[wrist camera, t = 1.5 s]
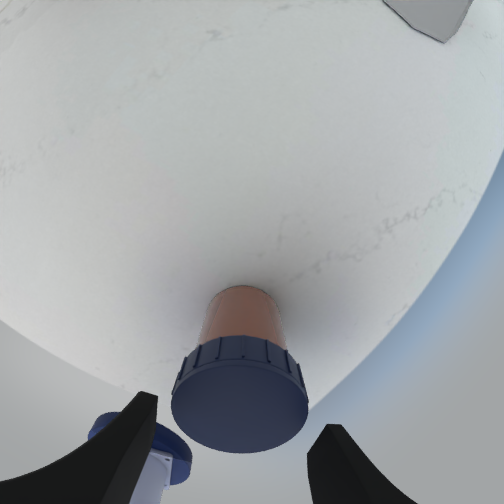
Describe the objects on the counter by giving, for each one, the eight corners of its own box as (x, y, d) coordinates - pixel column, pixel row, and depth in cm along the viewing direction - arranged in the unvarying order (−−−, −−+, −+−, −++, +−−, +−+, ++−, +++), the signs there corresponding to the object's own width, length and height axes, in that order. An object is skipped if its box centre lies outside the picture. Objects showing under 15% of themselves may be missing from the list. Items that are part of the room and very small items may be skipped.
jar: (268, 356, 18) (278, 447, 11) (200, 341, 18) (176, 430, 10) (289, 294, 17) (315, 376, 10) (213, 277, 17) (188, 352, 9)
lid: (281, 429, 12) (284, 459, 10) (173, 409, 12) (165, 439, 10) (320, 346, 11) (332, 377, 9) (187, 319, 11) (175, 348, 9)
